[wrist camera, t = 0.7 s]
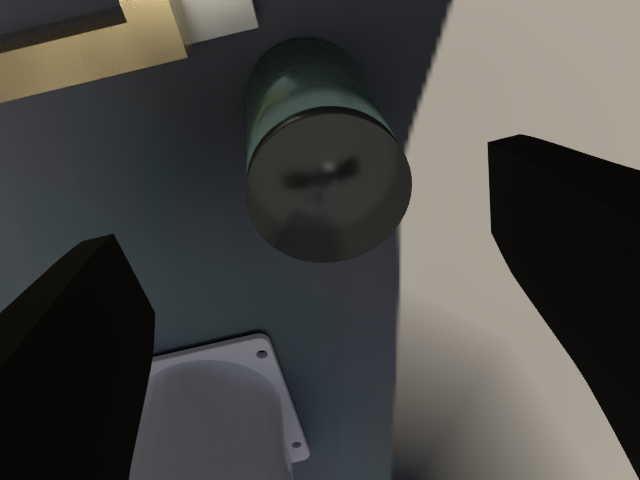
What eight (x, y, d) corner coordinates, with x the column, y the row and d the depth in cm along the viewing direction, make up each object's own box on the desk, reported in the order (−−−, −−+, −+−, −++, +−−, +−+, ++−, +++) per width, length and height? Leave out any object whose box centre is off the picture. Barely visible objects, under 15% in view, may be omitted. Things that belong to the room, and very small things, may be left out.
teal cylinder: (369, 135, 20) (419, 243, 14) (264, 161, 20) (269, 277, 14) (352, 24, 18) (402, 96, 12) (232, 52, 18) (224, 138, 12)
